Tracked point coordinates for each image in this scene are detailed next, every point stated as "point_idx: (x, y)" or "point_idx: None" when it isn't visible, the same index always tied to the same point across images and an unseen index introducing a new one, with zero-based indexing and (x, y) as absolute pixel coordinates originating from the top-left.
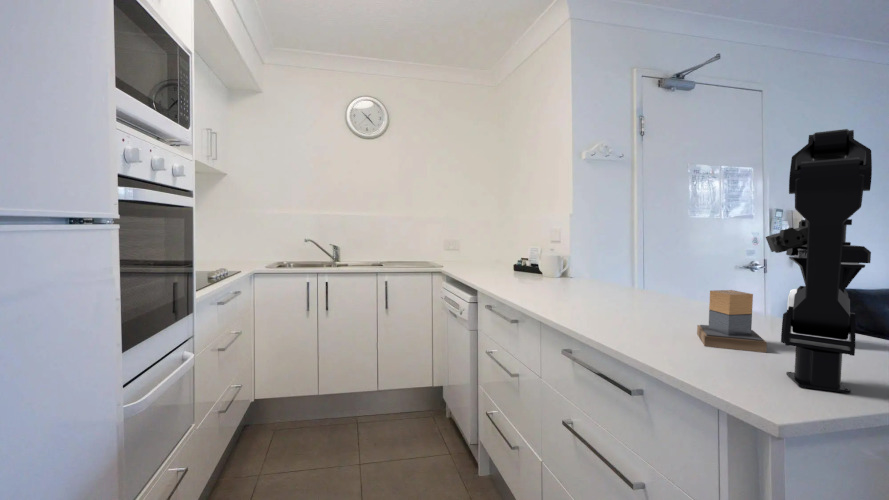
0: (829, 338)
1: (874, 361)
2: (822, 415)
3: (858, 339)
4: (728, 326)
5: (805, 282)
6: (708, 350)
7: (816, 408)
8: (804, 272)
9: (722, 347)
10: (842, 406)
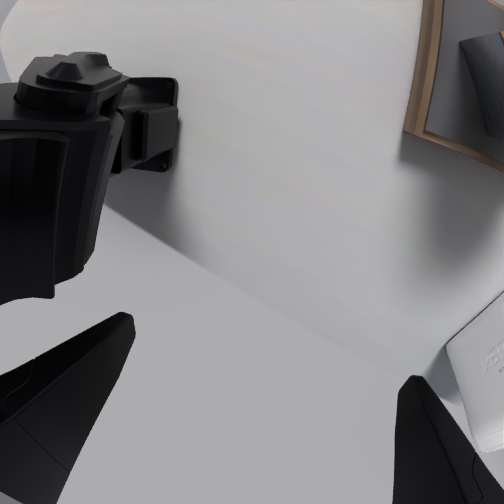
0: (463, 341)
1: (352, 343)
2: None
3: None
4: (474, 37)
5: (440, 422)
6: None
7: None
8: (456, 483)
9: (422, 20)
10: None
